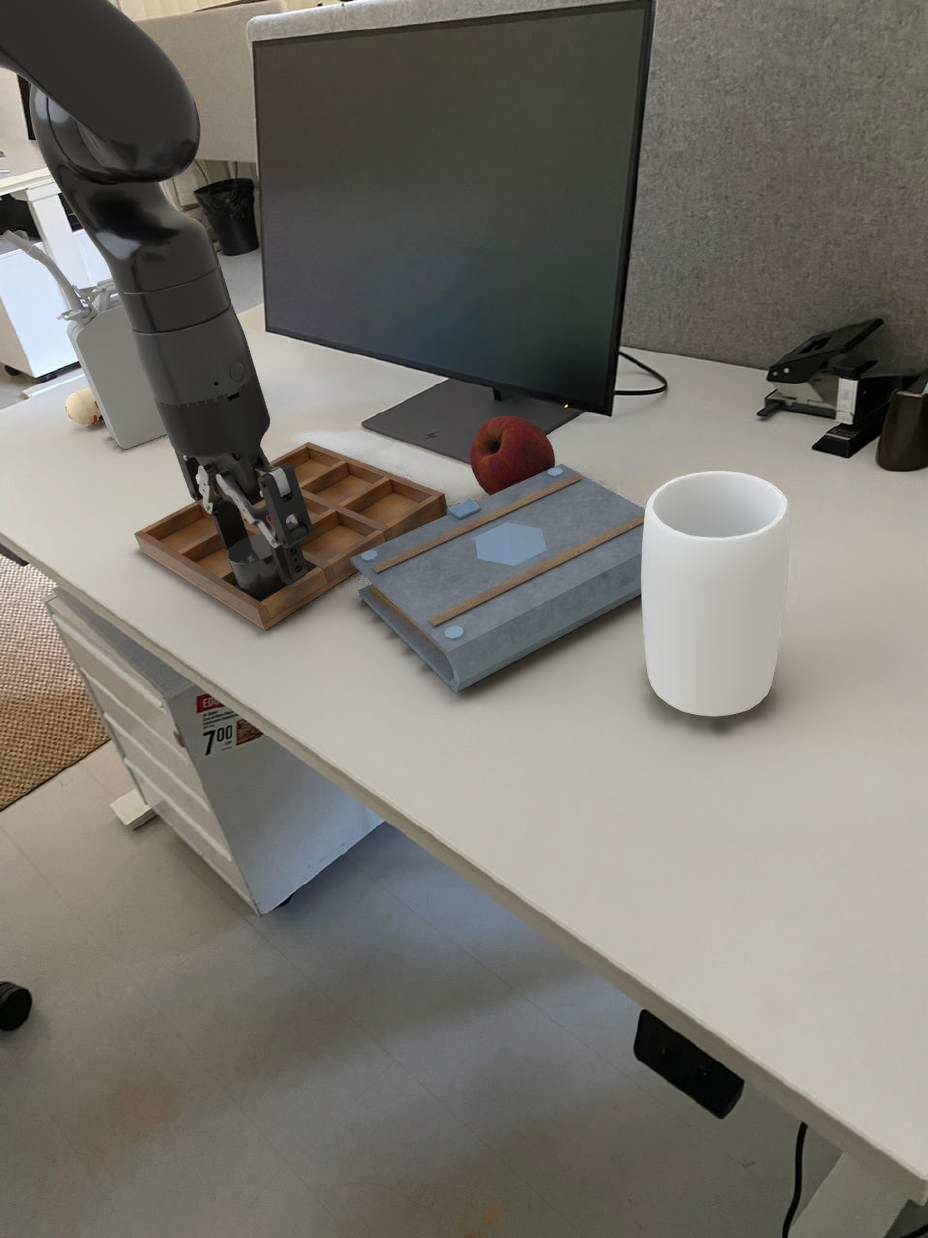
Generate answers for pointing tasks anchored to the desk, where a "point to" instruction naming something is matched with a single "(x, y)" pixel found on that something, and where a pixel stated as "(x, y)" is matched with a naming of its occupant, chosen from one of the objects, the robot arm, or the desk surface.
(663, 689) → the cup
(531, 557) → the book
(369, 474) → the board
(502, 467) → the apple
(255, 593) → the dark grey cylinder
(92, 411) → the toy figurine
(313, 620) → the desk surface
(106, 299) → the fuel canister
